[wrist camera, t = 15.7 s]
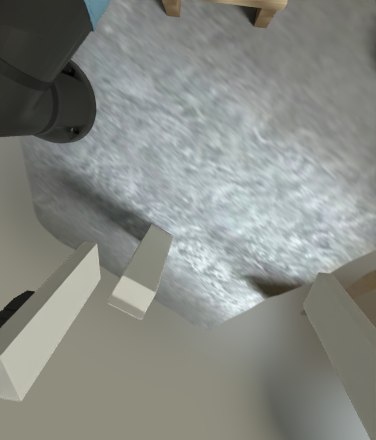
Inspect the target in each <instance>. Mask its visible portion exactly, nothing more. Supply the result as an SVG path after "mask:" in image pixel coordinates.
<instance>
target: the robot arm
mask: <svg viewBox="0 0 376 440" xmlns="http://www.w3.org/2000/svg"><path fill="white" fill-rule="evenodd" d="M109 2H110V0H0V137H9V136H26V135H33V136H36V137H39V138H41V139H44V140H46V141H49V142H53V143H71V142H75V141H78V140H80V139H82V138H83V137H85V136H86V135H87V134H88V132H89V131H90V130H91V128H92V126H93V124H94V121H95V116H96V100H95V95H94V92H93V89H92V86H91V84H90V82H89V80H88V78H87V77H86V75H85V74H84V72H83V71H82V70H81V69H80V68H79V67H78V66H77V65H76V64H75V63H74V62H73V61H72V60H70V59H71V58H72V56H73V55H74V54H75V52H76V51H77V50H78V48H79V47H80V45H81V44H82V43H83V41H84V40H85V39H86V37H87V36H88V34H89V33H90V32H91V31H92V32H94V31H95V30H96V24H97V22H98V21H99V19H100V18H101V16H102V15H103V13H104V12H105V10H106V9H107V7H108V5H109ZM100 279H101V278H100V268H99V258H98V248H97V243H92V242H83V243H82V244H81V245H80V246H79V248H78V249H77V250H76V251H75V252H74V253H73V254H72V255H71V256H70V257H69V258H68V259H67V260H66V261H65V262H64V263H63V264H62V265H61V266H60V267H59V268H58V269H57V270H56V271H55V272H54V273H53V274H52V275H51V277H49V278H48V279H47V281H46V282H45V283H44V284H43V285H42V286H41V287H40V288H39V289H38V290H37V291H36V292H34V291H26V292H24V293H22V294H21V295H19V296H17V297H16V298H14V299H13V300H12V301H11V302H10V303H9V304H8V305H7V306H6V307H4V309H3V310H2V311H0V398H1V399H7V400H14V401H22V399H23V398H24V396H25V395H26V393H27V392H28V390H29V389H30V387H31V386H32V384H33V382H34V381H35V379H36V378H37V376H38V375H39V373H40V372H41V370H42V369H43V367H44V365H45V364H46V362H47V361H48V359H49V358H50V356H51V355H52V353H53V352H54V350H55V348H56V347H57V345H58V344H59V342H60V341H61V339H62V337H63V336H64V335H65V333H66V331H67V330H68V328H69V327H70V325H71V324H72V322H73V320H74V319H75V318H76V316H77V314H78V313H79V311H80V310H81V308H82V307H83V305H84V304H85V302H86V300H87V299H88V297H89V296H90V294H91V293H92V291H93V290H94V288H95V287H96V285H97V284H98V282H99V280H100ZM303 308H304V310H305V312H306V314H307V316H308V318H309V320H310V322H311V324H312V326H313V328H314V330H315V331H316V333H317V335H318V337H319V339H320V341H321V343H322V345H323V347H324V349H325V351H326V353H327V355H328V357H329V359H330V361H331V363H332V365H333V367H334V368H335V371H336V373H337V375H338V376H339V379H340V380H341V382H342V384H343V386H344V388H345V390H346V392H347V394H348V396H349V398H350V400H351V402H352V404H353V406H354V408H355V410H356V411H357V414H358V416H359V418H360V419H361V422H362V424H363V425H364V427H365V429H366V431H367V433H368V435H369V437H370V439H371V440H376V328H375V327H374V326H373V325H372V323H371V322H370V321H369V320H368V318H367V317H366V316H365V315H364V314H363V312H362V311H361V310H360V308H359V307H358V306H357V305H356V304H355V302H354V301H353V300H352V298H351V297H350V296H349V295H348V293H347V292H346V291H345V290H344V288H342V286H341V285H340V283H339V282H338V281H337V280H336V278H335V277H334V276H333V275H332V274H327V273H320V272H319V273H318V275H317V277H316V279H315V281H314V283H313V286H312V288H311V290H310V292H309V294H308V296H307V298H306V300H305V302H304V304H303Z"/></svg>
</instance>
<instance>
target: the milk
mask: <svg viewBox="0 0 376 440" xmlns="http://www.w3.org/2000/svg"><path fill="white" fill-rule="evenodd" d="M172 240H173V236H171V235H170V234H168V233H166V232H165V231H163V230H161V229H160V228H158V227H156V226H155V225H153V224H152V225H151V226H150V228H149V229H148V231H147V232H146V234H145V236H144V237H143V239H142V240H141V242H140V244H139V245H138V247H137V249H136V251H135V252H134V254H133V256H132V258H131V259H130V261H129V263H128V265H127V266H126V268H125V270H124V271H123V273H122V275H121V277H120V278H119V280H118V282H117V284H116V285H115V287H114V289H113V291H112V292H111V294H110V296H109V298H108V300H107V303H108V304H110V305H112V306H114V307H116V308H118V309H120V310H122V311H124V312H126V313H127V314H130V315H131V316H133V317H135V318H137V319H140V320H142V319H143V317H144V314H145V312H146V310H147V308H148V306H149V305H150V303H151V301H152V299H153V298H154V296H155V294H156V292H157V288H158V285H159V282H160V279H161V275H162V272H163V269H164V266H165V262H166V259H167V256H168V253H169V249H170V246H171V243H172Z"/></svg>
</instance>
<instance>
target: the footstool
mask: <svg viewBox="0 0 376 440" xmlns="http://www.w3.org/2000/svg"><path fill="white" fill-rule="evenodd" d="M201 1H209V2H217V3H225V4H233V5H241V6H250V7H258V9H257V13H256V18H255V23H254V26H255V27H262V28H267V26H268V24H269V23H270V21H271V19H272V18H273V16H274V14H275V13H276V11H277V10H282V11H283V9H284V8H285V6H286V5H287V1H288V0H201ZM162 2H163V5H164V8H165V10H166V13H167V16H175V17H180V6H181V0H162Z"/></svg>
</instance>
